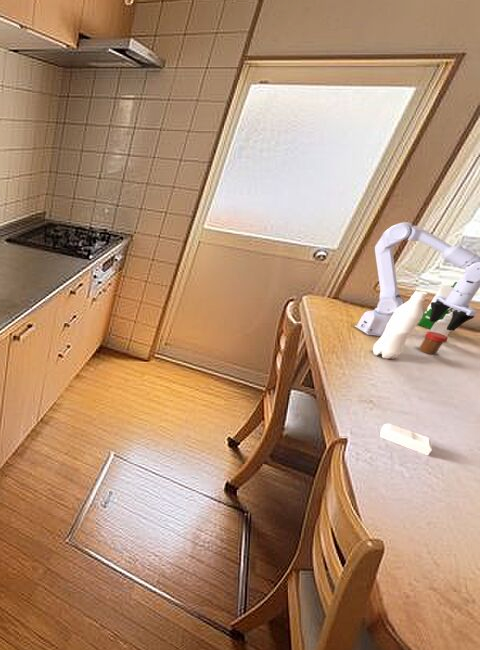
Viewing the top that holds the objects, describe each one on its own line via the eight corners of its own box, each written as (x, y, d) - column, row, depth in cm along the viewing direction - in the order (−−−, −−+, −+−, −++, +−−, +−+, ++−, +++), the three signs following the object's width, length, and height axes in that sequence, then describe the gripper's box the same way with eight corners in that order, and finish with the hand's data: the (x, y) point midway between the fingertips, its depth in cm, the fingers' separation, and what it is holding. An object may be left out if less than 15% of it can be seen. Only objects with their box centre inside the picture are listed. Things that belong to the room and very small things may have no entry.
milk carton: (449, 330, 181) (478, 286, 172) (440, 332, 177) (469, 288, 168) (423, 321, 188) (450, 279, 179) (414, 324, 184) (440, 281, 175)
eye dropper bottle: (445, 343, 168) (463, 316, 163) (426, 338, 171) (443, 311, 165) (442, 339, 171) (460, 312, 166) (424, 335, 174) (441, 308, 169)
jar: (426, 353, 158) (436, 338, 155) (414, 347, 162) (424, 333, 159) (439, 354, 158) (449, 340, 155) (427, 348, 162) (437, 334, 159)
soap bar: (381, 429, 113) (386, 421, 112) (426, 446, 107) (432, 438, 106) (380, 437, 109) (385, 429, 108) (427, 455, 104) (433, 447, 103)
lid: (436, 336, 160) (439, 332, 159) (450, 343, 155) (452, 339, 154) (420, 334, 160) (423, 330, 159) (433, 341, 155) (436, 337, 154)
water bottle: (400, 362, 150) (441, 297, 138) (378, 358, 151) (417, 294, 140) (387, 352, 156) (425, 289, 145) (365, 349, 157) (402, 287, 146)
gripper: (495, 300, 144) (470, 335, 151) (457, 286, 157) (436, 318, 164) (472, 298, 145) (449, 333, 151) (437, 284, 158) (416, 316, 164)
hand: (441, 325), depth 157 cm, fingers open, 7 cm apart
